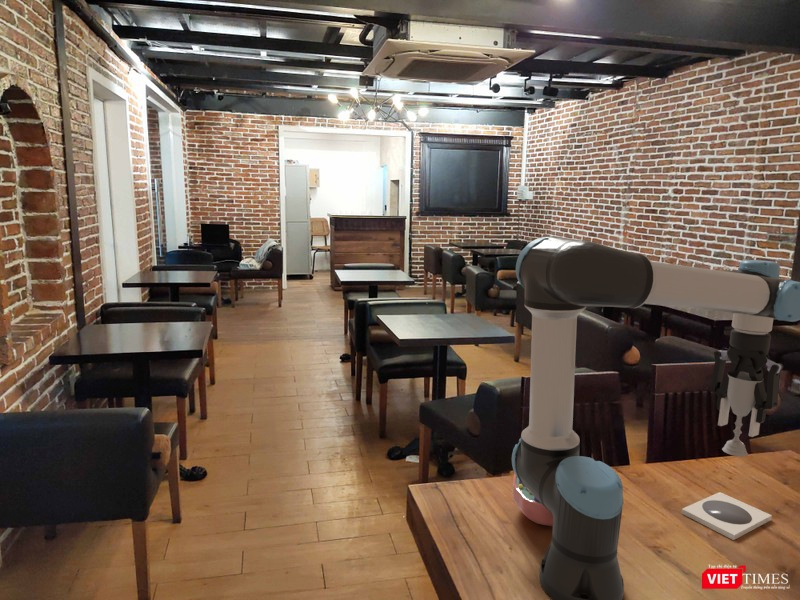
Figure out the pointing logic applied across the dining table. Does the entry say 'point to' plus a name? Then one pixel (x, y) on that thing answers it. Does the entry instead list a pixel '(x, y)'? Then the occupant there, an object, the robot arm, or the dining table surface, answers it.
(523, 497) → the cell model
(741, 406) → the chalice
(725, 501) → the serving tile
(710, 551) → the dining table surface
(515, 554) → the dining table surface
